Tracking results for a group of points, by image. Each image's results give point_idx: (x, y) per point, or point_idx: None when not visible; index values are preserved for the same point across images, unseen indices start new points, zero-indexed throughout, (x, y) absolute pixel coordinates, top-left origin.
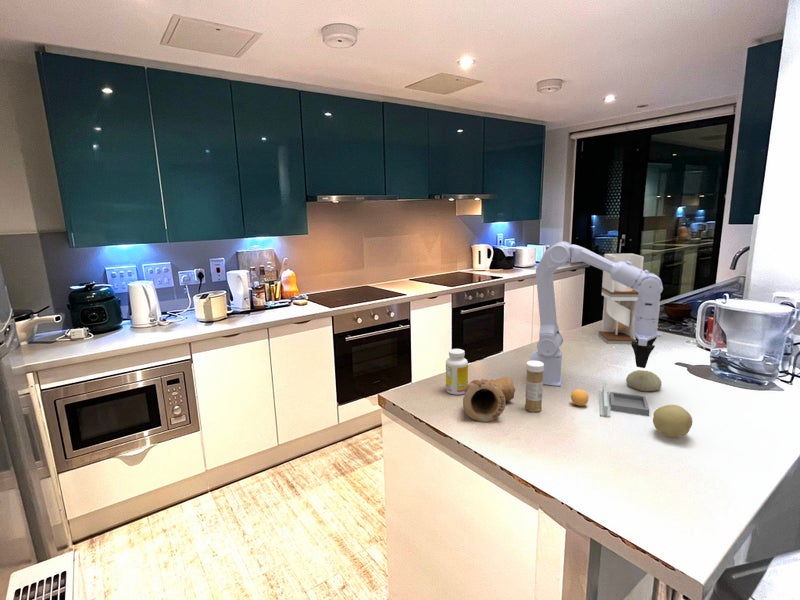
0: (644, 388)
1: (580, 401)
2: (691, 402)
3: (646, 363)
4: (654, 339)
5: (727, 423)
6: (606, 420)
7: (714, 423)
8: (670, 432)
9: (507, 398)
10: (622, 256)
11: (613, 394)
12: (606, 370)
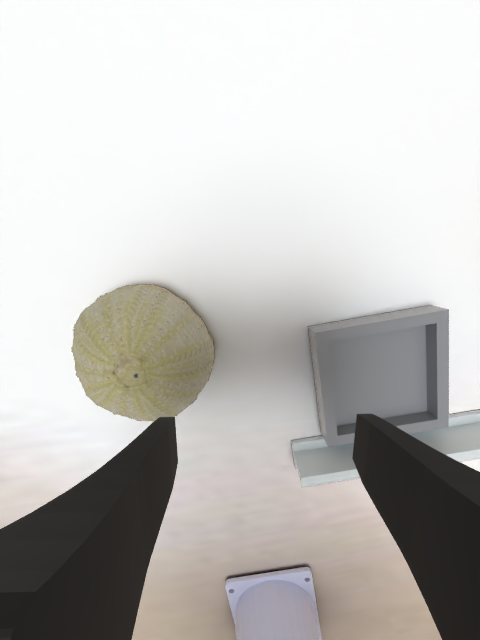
0: (213, 343)
1: None
2: (221, 163)
3: (399, 430)
4: (55, 590)
5: (381, 21)
6: None
7: (402, 76)
8: None
9: None
10: None
11: (351, 433)
12: (55, 478)
